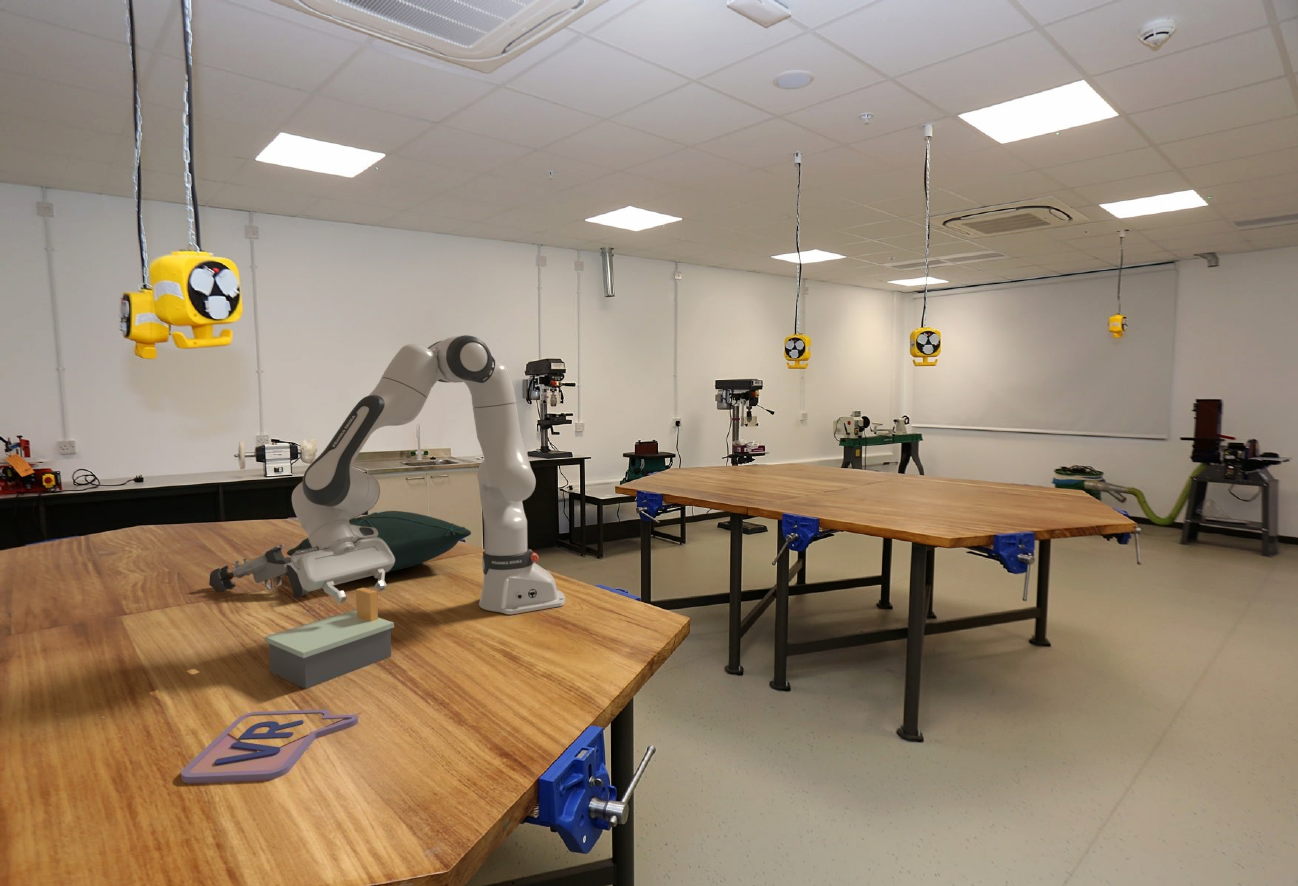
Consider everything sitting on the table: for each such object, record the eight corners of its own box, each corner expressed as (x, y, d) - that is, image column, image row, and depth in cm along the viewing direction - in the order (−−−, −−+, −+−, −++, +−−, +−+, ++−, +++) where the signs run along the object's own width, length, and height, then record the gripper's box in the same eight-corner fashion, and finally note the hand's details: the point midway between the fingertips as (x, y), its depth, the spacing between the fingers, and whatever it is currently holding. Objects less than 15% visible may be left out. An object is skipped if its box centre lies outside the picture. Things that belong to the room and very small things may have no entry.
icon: (318, 771, 95) (173, 777, 93) (319, 781, 95) (174, 787, 93) (364, 708, 114) (244, 712, 112) (364, 716, 114) (245, 720, 112)
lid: (355, 620, 143) (353, 583, 143) (394, 634, 136) (393, 594, 135) (265, 649, 128) (263, 606, 127) (303, 666, 120) (302, 621, 119)
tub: (355, 646, 143) (354, 615, 143) (391, 660, 136) (390, 627, 135) (270, 676, 128) (268, 641, 128) (306, 693, 121) (304, 656, 120)
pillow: (316, 523, 173) (279, 524, 206) (324, 592, 173) (285, 581, 206) (469, 500, 202) (415, 504, 235) (476, 559, 202) (421, 555, 235)
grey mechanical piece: (302, 596, 174) (280, 541, 174) (222, 628, 181) (201, 575, 181) (316, 590, 180) (295, 536, 180) (238, 621, 186) (218, 569, 186)
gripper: (292, 543, 133) (320, 599, 128) (382, 526, 150) (409, 575, 145) (282, 561, 136) (309, 616, 131) (371, 543, 153) (398, 591, 148)
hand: (362, 594), depth 138 cm, fingers open, 8 cm apart
